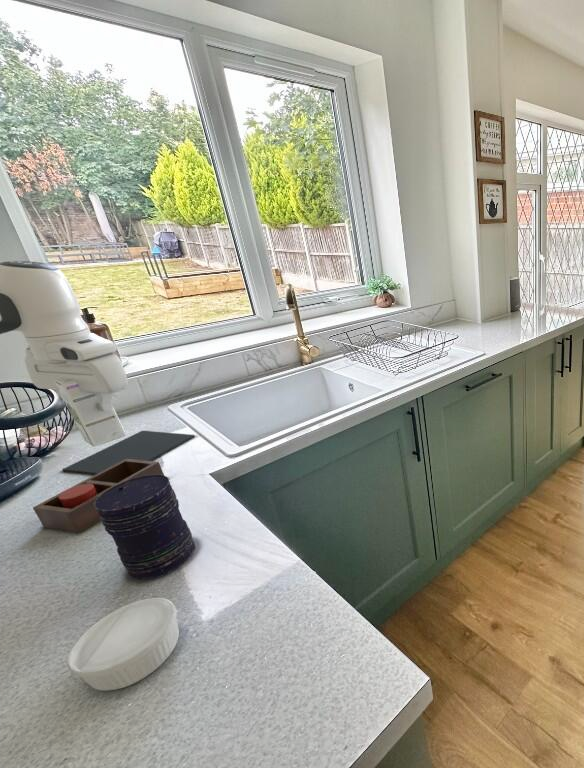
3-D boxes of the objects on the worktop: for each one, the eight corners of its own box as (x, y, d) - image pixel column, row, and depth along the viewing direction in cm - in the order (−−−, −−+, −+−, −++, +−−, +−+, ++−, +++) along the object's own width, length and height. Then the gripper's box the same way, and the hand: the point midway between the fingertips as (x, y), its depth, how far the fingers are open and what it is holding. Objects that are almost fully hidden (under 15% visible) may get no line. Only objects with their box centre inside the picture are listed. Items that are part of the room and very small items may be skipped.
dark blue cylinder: (209, 544, 78) (183, 478, 73) (155, 586, 70) (121, 515, 64) (170, 535, 81) (142, 470, 75) (113, 574, 72) (77, 505, 66)
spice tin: (64, 521, 85) (51, 497, 83) (92, 505, 90) (80, 482, 88) (84, 524, 84) (71, 500, 82) (111, 507, 89) (100, 484, 87)
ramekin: (83, 657, 58) (67, 632, 56) (180, 608, 66) (168, 583, 64) (84, 721, 51) (65, 693, 49) (193, 657, 58) (180, 631, 56)
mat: (63, 471, 103) (62, 469, 103) (142, 432, 121) (142, 430, 121) (121, 477, 100) (120, 475, 99) (194, 436, 118) (194, 435, 118)
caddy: (43, 527, 84) (32, 507, 82) (133, 476, 100) (125, 458, 98) (80, 532, 82) (69, 512, 80) (166, 479, 98) (158, 461, 97)
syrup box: (127, 435, 91) (100, 374, 85) (92, 448, 86) (61, 384, 81) (117, 429, 94) (90, 370, 88) (82, 441, 89) (52, 379, 83)
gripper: (3, 348, 81) (34, 411, 86) (86, 352, 77) (114, 418, 82) (42, 339, 87) (69, 399, 92) (121, 343, 83) (145, 405, 88)
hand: (91, 408), depth 87 cm, fingers closed on syrup box, 6 cm apart
